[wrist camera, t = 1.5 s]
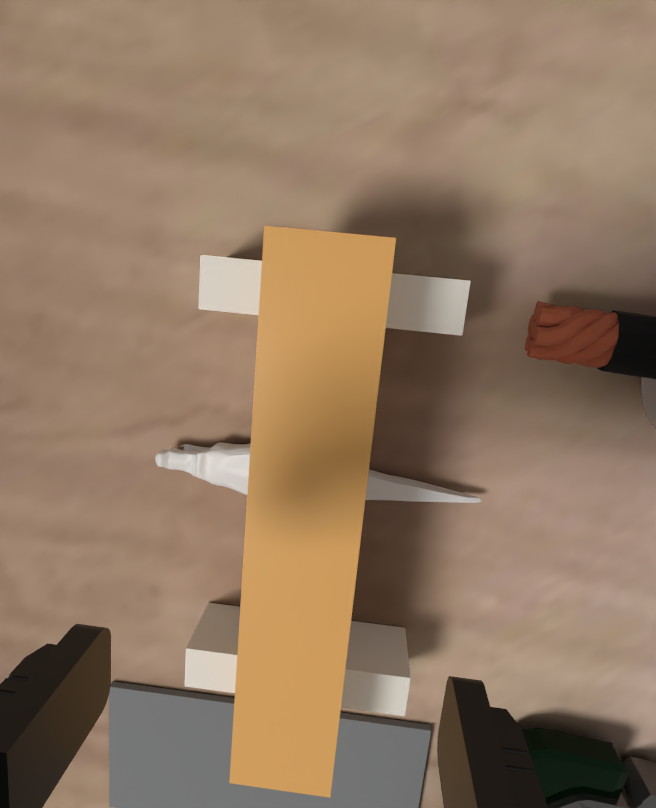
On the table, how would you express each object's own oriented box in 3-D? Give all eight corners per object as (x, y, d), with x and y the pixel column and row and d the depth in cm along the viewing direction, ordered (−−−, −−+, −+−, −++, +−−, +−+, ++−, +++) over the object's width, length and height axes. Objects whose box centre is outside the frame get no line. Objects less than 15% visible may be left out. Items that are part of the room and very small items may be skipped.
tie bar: (282, 234, 20) (264, 225, 16) (391, 244, 20) (396, 237, 16) (248, 713, 25) (229, 783, 21) (335, 725, 25) (330, 797, 21)
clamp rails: (224, 258, 24) (200, 254, 20) (455, 280, 23) (470, 280, 20) (206, 636, 28) (184, 686, 25) (400, 661, 28) (404, 716, 24)
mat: (112, 681, 29) (109, 686, 29) (430, 724, 28) (431, 731, 28) (112, 799, 31) (109, 806, 31) (410, 844, 30) (411, 851, 30)
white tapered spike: (164, 474, 26) (149, 489, 25) (167, 422, 26) (152, 433, 24) (472, 519, 26) (480, 537, 24) (483, 466, 25) (491, 481, 23)
